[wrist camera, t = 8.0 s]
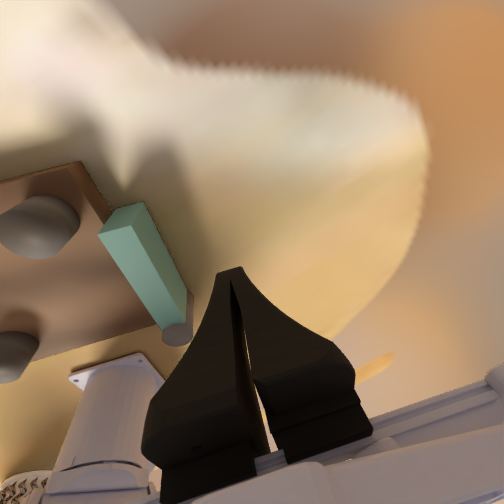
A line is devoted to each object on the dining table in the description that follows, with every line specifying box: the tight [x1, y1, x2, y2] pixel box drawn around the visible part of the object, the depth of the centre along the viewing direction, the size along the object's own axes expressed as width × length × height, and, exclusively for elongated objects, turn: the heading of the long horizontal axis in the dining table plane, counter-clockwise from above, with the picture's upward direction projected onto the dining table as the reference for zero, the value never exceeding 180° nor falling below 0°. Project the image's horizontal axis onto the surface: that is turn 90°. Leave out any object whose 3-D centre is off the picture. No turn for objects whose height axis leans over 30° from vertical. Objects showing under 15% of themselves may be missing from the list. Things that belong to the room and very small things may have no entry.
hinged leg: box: [97, 202, 193, 346], centre depth 18 cm, size 11×2×4 cm, turn 11°
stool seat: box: [0, 160, 157, 383], centre depth 17 cm, size 14×14×4 cm
